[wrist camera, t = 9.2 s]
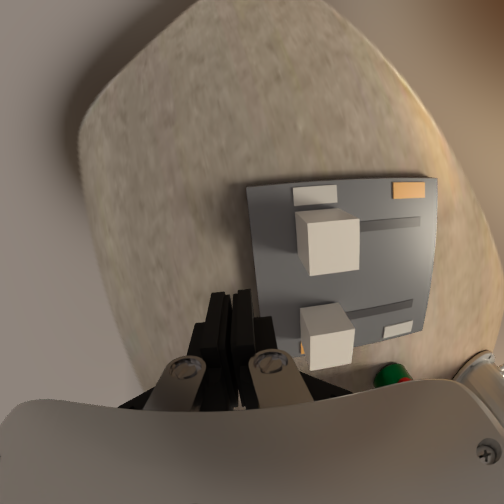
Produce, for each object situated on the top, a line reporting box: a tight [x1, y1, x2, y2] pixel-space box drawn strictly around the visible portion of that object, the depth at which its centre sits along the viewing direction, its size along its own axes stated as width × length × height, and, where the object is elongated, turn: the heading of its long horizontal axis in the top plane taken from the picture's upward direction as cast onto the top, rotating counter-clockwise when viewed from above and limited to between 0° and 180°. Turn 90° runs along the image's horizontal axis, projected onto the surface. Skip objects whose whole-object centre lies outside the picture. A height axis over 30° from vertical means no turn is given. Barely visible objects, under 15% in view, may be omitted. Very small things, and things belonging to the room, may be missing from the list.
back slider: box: [300, 303, 355, 371], centre depth 25 cm, size 4×4×5 cm
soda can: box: [374, 364, 413, 388], centre depth 27 cm, size 5×5×12 cm
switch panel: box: [246, 177, 438, 358], centre depth 27 cm, size 20×18×2 cm
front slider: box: [295, 208, 360, 276], centre depth 22 cm, size 4×4×5 cm
